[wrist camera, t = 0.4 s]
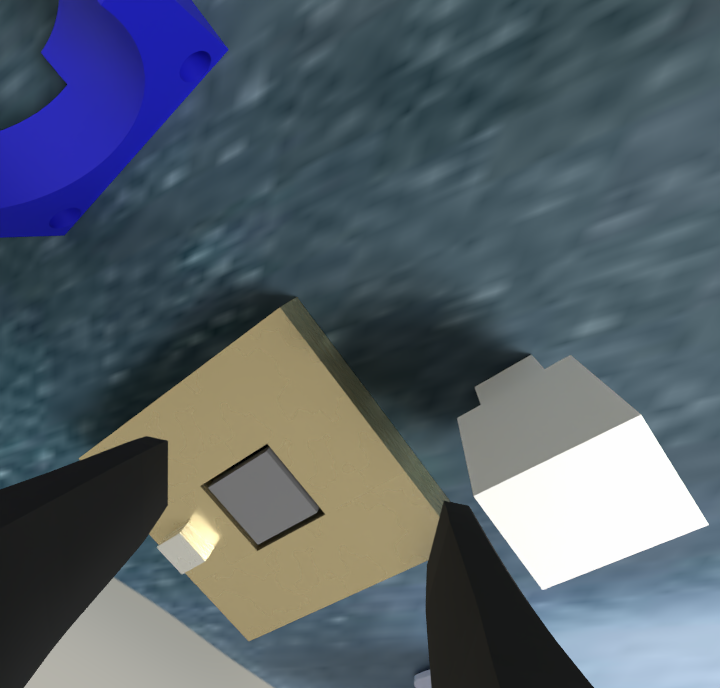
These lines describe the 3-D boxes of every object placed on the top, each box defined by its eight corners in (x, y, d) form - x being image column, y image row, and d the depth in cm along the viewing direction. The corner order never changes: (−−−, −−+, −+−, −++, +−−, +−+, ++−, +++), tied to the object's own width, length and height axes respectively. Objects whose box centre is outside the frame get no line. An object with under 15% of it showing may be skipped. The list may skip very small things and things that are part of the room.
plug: (589, 402, 19) (708, 524, 11) (494, 451, 20) (542, 589, 12) (546, 334, 18) (640, 414, 10) (451, 389, 19) (473, 496, 12)
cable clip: (156, -48, 16) (11, -198, 10) (230, 51, 17) (133, -39, 11) (0, 160, 19) (-173, 133, 14) (67, 235, 20) (-71, 239, 14)
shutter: (320, 504, 20) (317, 512, 19) (262, 536, 21) (257, 544, 21) (270, 444, 19) (266, 451, 19) (213, 480, 20) (208, 487, 20)
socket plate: (456, 509, 21) (462, 558, 18) (264, 601, 25) (243, 655, 22) (296, 296, 19) (273, 311, 16) (113, 434, 23) (65, 467, 20)
